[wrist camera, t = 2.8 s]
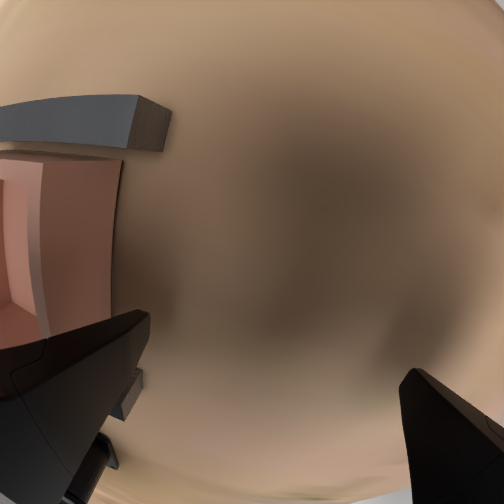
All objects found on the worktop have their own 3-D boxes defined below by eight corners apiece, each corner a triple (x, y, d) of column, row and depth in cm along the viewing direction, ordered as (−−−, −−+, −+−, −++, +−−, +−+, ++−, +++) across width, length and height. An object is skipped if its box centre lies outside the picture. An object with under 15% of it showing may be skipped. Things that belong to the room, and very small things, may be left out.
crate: (113, 355, 11) (73, 408, 7) (14, 302, 11) (-27, 331, 8) (121, 160, 9) (43, 163, 5) (9, 149, 9) (-49, 156, 5)
